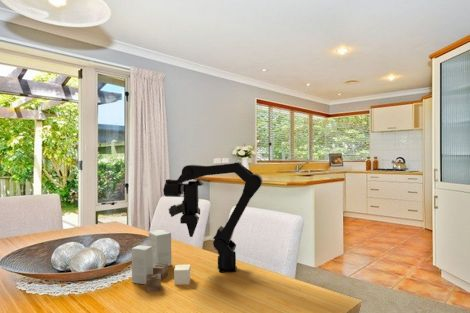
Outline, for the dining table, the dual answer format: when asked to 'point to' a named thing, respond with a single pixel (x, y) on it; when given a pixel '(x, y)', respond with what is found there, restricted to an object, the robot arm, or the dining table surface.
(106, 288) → the dining table surface
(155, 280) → the walnut block
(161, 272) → the walnut block
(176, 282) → the cream block
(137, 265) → the skincare box
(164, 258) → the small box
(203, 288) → the dining table surface
